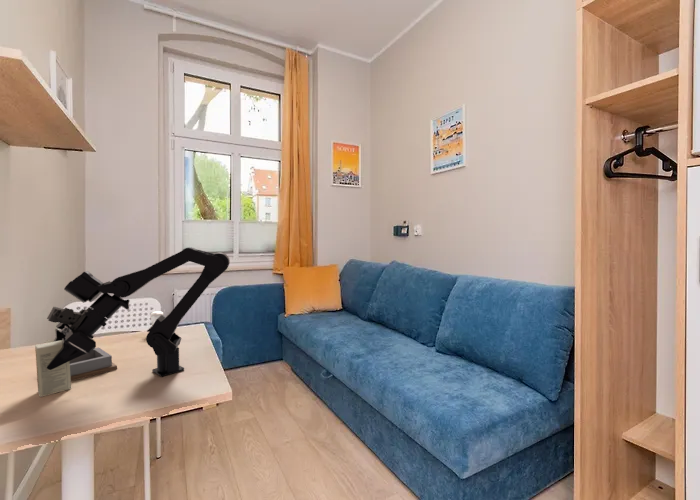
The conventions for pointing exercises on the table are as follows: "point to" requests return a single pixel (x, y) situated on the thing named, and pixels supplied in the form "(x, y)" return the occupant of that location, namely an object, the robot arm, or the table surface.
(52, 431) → the table surface
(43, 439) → the table surface
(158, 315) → the milkshake
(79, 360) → the square frame
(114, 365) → the walnut board
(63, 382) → the skincare box
